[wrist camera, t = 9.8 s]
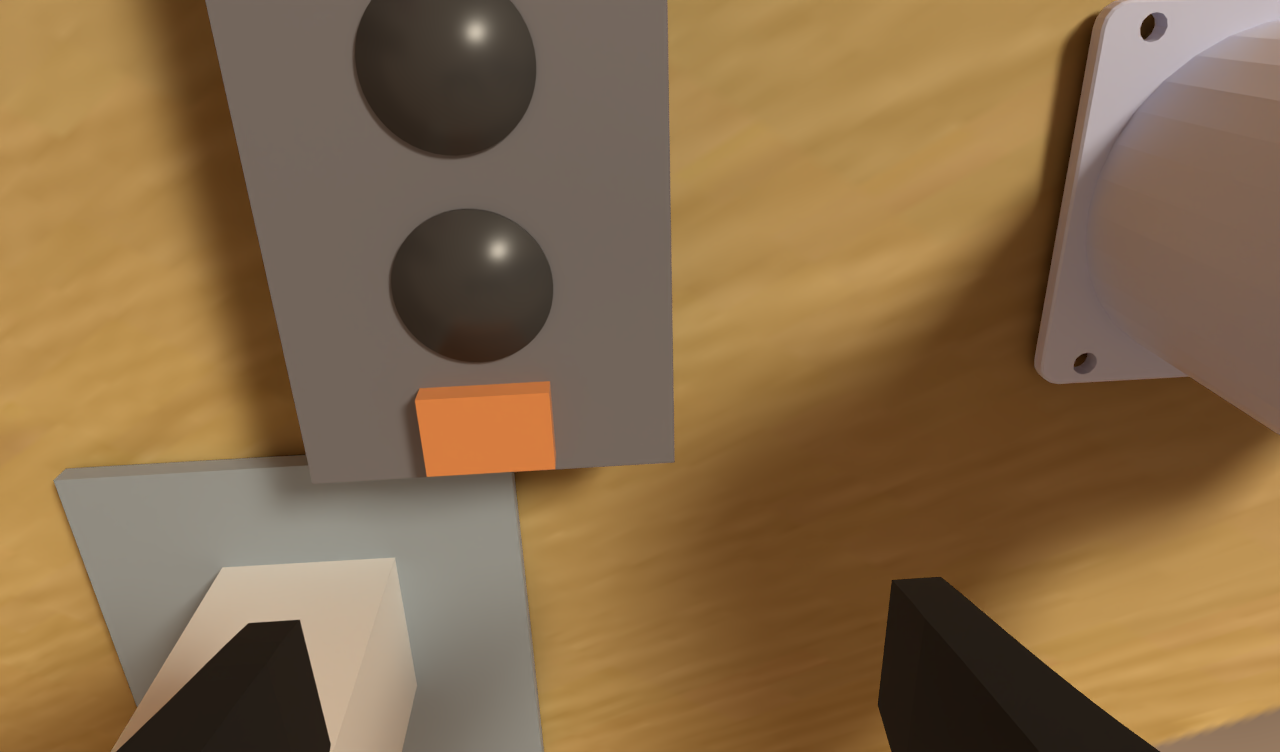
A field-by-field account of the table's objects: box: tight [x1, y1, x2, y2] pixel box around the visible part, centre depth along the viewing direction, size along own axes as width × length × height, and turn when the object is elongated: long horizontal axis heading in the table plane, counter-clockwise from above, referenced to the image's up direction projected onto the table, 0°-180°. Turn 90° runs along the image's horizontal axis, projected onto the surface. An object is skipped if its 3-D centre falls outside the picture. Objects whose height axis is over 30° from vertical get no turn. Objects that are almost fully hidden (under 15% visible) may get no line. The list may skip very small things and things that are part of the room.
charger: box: [111, 558, 417, 752], centre depth 18 cm, size 4×4×6 cm
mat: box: [53, 455, 544, 752], centre depth 22 cm, size 10×10×1 cm
